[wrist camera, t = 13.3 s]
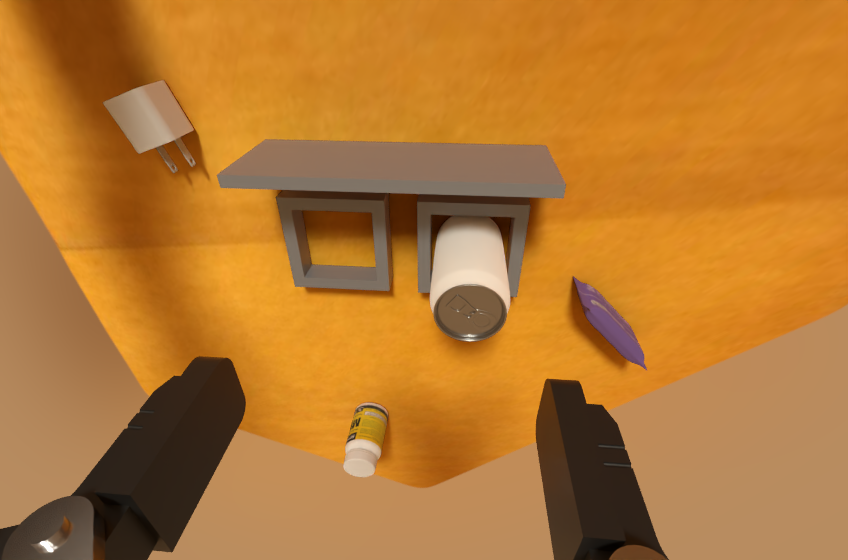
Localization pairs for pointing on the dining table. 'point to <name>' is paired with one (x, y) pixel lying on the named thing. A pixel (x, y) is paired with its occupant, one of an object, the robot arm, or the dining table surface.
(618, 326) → the snack package
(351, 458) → the supplement bottle
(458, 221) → the can
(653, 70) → the dining table surface
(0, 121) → the dining table surface
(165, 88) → the usb wall charger
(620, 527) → the robot arm
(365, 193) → the dock
